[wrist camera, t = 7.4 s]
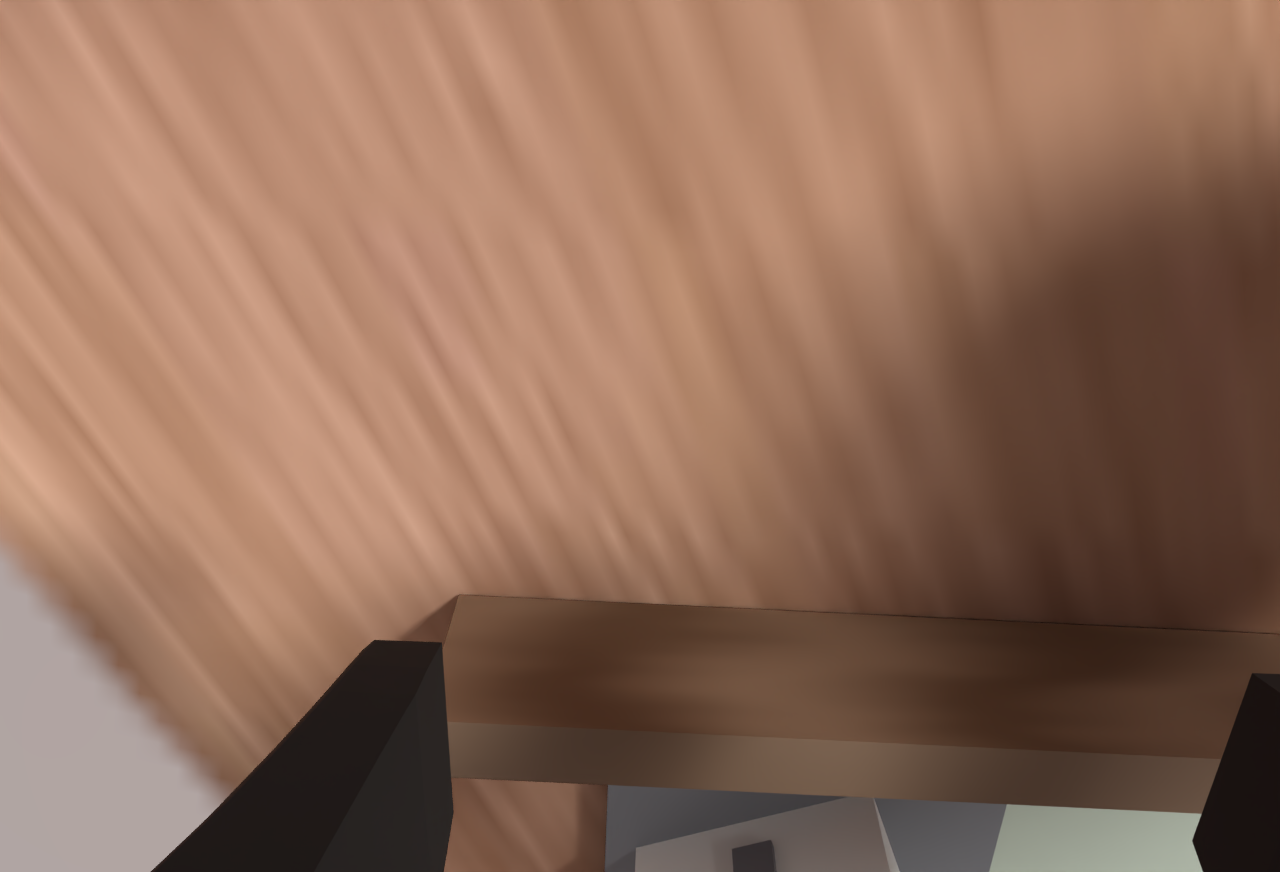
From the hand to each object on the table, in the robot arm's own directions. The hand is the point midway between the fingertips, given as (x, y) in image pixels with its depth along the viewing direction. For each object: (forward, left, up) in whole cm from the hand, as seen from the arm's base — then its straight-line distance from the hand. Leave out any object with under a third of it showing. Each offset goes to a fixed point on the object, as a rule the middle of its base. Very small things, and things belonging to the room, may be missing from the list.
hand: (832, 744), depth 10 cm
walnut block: (-5, +6, -9) cm, 12 cm away
